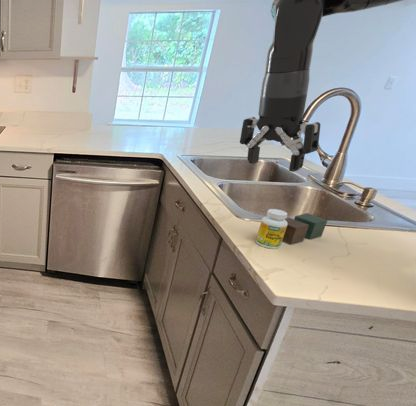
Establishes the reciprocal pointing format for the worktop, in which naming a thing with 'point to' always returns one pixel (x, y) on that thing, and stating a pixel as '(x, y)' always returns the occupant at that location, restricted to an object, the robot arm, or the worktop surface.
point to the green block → (312, 225)
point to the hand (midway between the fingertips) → (272, 166)
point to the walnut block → (294, 231)
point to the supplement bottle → (272, 229)
